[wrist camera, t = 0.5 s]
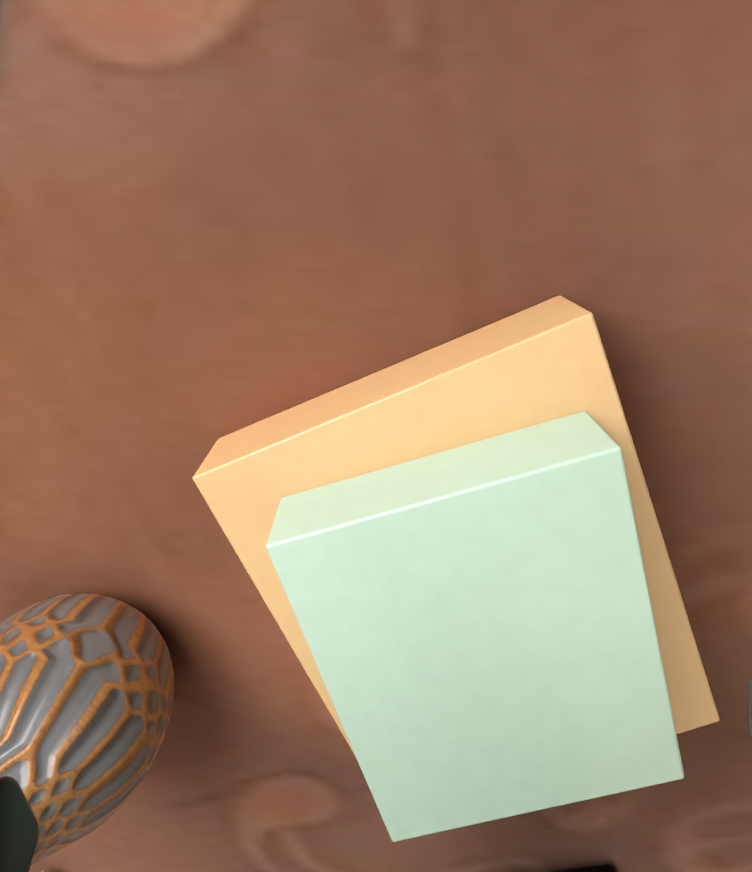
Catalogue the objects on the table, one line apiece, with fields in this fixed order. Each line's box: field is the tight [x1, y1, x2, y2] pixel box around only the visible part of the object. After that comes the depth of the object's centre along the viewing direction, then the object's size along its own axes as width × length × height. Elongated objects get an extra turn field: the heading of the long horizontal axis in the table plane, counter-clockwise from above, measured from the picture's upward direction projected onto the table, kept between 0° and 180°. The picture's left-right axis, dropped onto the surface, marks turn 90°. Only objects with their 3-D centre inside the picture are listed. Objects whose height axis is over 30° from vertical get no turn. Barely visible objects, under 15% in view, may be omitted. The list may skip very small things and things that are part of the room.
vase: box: [0, 593, 174, 866], centre depth 20 cm, size 7×7×9 cm
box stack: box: [193, 296, 719, 842], centre depth 20 cm, size 15×12×6 cm
